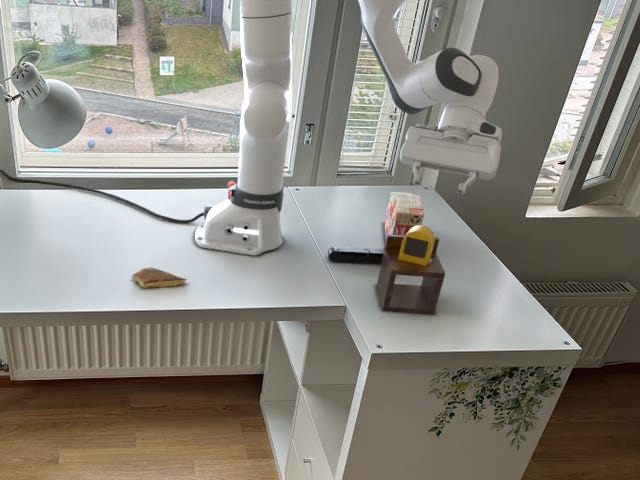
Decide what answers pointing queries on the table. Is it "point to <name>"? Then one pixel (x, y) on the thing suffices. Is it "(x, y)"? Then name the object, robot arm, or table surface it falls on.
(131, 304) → the table surface
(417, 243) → the tape measure
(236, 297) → the table surface
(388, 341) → the table surface
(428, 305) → the shelf
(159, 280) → the shard
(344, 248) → the tablet stand
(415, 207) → the stack of blocks
